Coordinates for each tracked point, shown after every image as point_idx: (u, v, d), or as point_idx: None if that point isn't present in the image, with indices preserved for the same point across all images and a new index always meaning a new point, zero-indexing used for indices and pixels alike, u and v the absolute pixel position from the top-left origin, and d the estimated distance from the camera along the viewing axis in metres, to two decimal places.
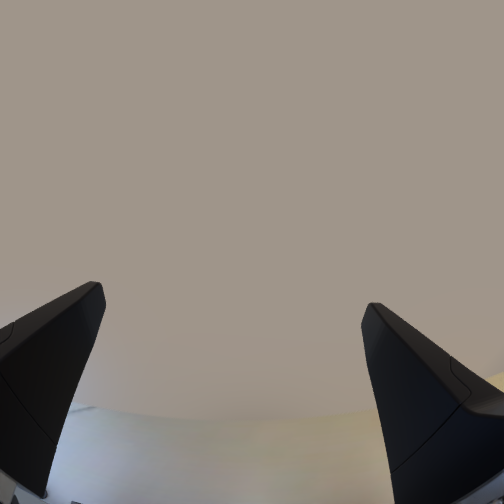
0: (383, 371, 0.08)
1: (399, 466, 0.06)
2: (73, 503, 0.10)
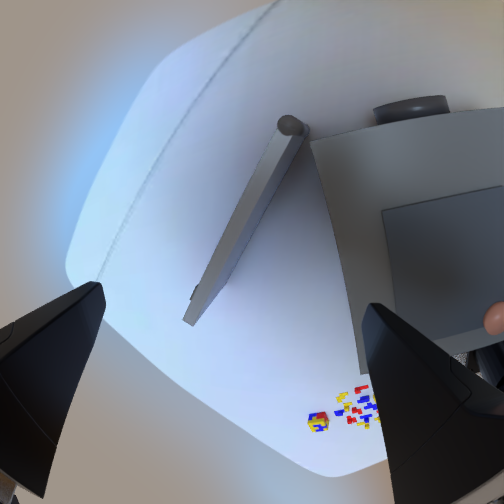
0: (383, 371, 0.08)
1: (399, 465, 0.06)
2: (392, 106, 0.12)
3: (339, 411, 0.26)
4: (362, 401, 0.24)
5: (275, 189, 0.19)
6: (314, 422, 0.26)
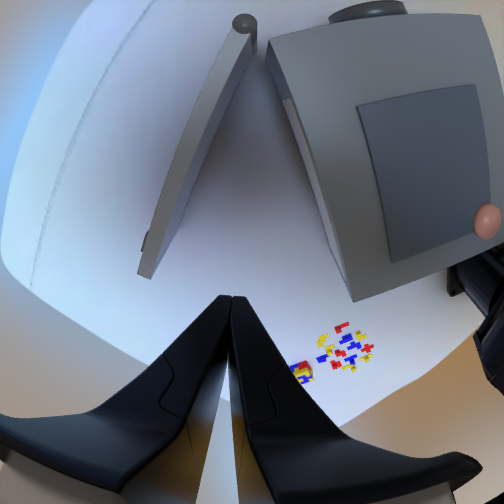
0: (230, 370, 0.08)
1: (238, 479, 0.06)
2: (352, 8, 0.10)
3: (322, 357, 0.26)
4: (345, 341, 0.25)
5: (224, 111, 0.16)
6: (298, 374, 0.26)
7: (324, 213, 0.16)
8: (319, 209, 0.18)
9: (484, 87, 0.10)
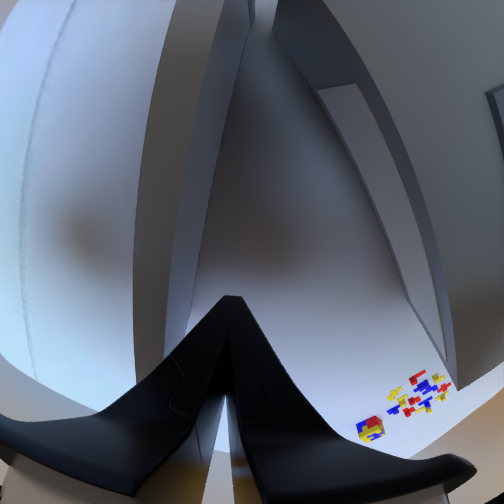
0: None
1: (233, 478, 0.06)
2: None
3: (393, 409, 0.19)
4: (421, 389, 0.17)
5: (222, 126, 0.09)
6: (367, 433, 0.18)
7: (417, 275, 0.09)
8: (396, 256, 0.11)
9: None
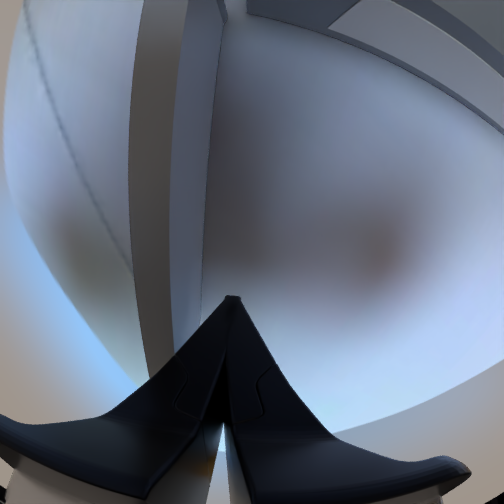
0: None
1: (229, 478, 0.06)
2: None
3: None
4: None
5: (209, 125, 0.09)
6: None
7: None
8: (480, 108, 0.08)
9: None
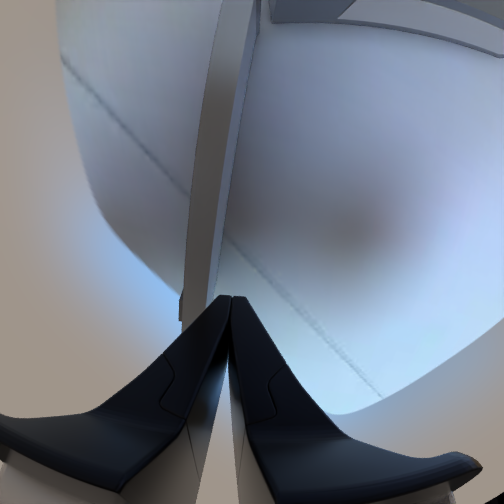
0: (230, 370, 0.08)
1: (238, 479, 0.06)
2: None
3: None
4: None
5: (240, 115, 0.12)
6: None
7: (484, 34, 0.07)
8: (465, 41, 0.09)
9: None
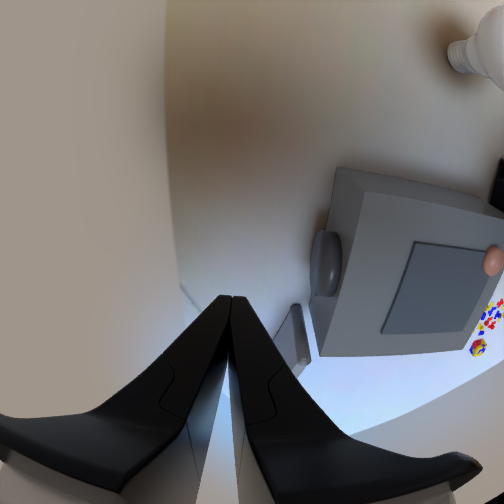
0: (230, 370, 0.08)
1: (238, 479, 0.06)
2: (319, 295, 0.19)
3: (480, 332, 0.28)
4: (483, 318, 0.26)
5: None
6: (475, 352, 0.28)
7: None
8: None
9: (421, 227, 0.15)
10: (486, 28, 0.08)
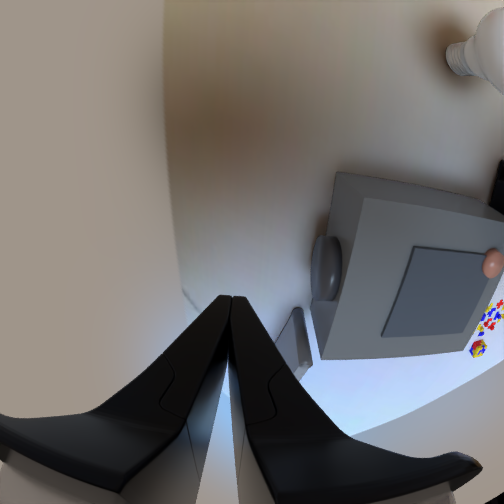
0: (230, 370, 0.08)
1: (238, 479, 0.06)
2: (320, 300, 0.19)
3: (480, 333, 0.28)
4: (483, 319, 0.26)
5: None
6: (475, 353, 0.28)
7: None
8: None
9: (420, 232, 0.16)
10: (485, 31, 0.08)
